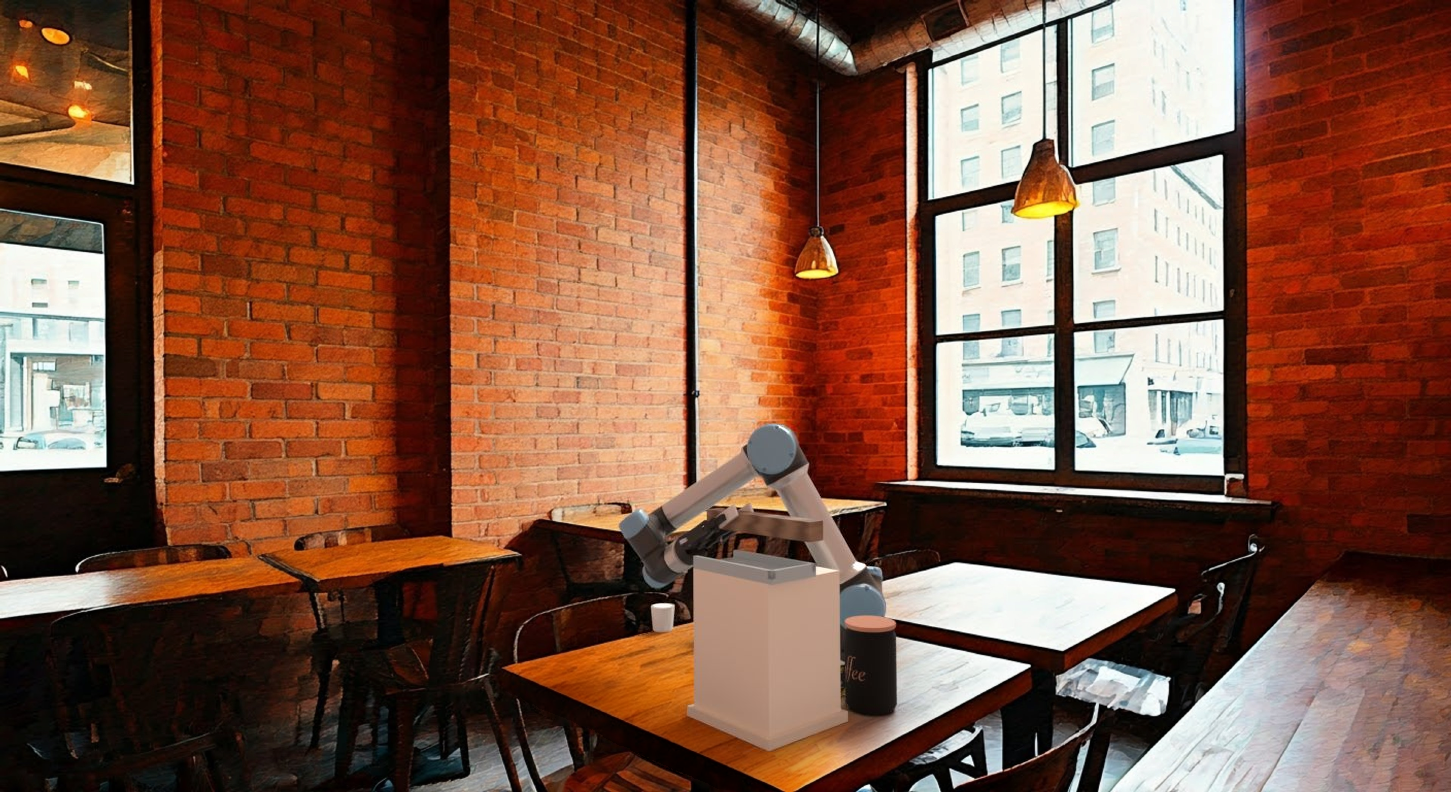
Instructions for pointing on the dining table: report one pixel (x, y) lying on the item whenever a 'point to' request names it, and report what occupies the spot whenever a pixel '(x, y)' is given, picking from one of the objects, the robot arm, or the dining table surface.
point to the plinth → (767, 657)
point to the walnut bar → (773, 525)
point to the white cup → (662, 617)
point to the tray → (757, 567)
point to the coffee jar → (870, 665)
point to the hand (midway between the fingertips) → (743, 509)
